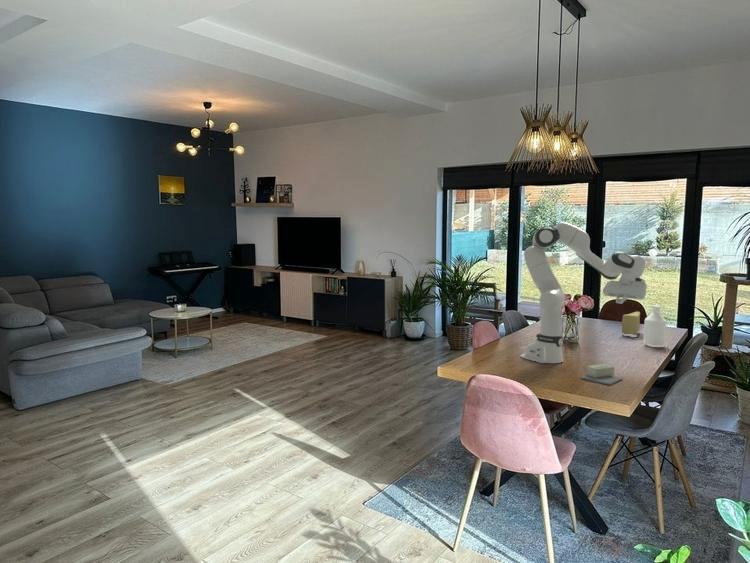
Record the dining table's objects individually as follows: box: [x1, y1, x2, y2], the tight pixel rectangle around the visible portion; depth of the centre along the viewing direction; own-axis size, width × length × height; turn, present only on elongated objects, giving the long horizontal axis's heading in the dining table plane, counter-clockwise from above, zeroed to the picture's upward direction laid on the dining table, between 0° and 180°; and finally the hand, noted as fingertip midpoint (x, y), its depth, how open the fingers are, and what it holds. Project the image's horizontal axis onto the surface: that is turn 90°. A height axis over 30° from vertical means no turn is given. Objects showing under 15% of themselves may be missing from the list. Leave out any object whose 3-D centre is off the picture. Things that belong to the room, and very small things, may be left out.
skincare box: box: [585, 363, 615, 378], centre depth 261 cm, size 6×4×12 cm
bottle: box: [643, 304, 667, 345], centre depth 332 cm, size 12×12×25 cm
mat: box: [580, 375, 624, 386], centre depth 256 cm, size 14×14×1 cm
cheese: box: [621, 311, 641, 336], centre depth 367 cm, size 22×10×15 cm, turn 140°
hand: (618, 302), depth 271 cm, fingers closed
